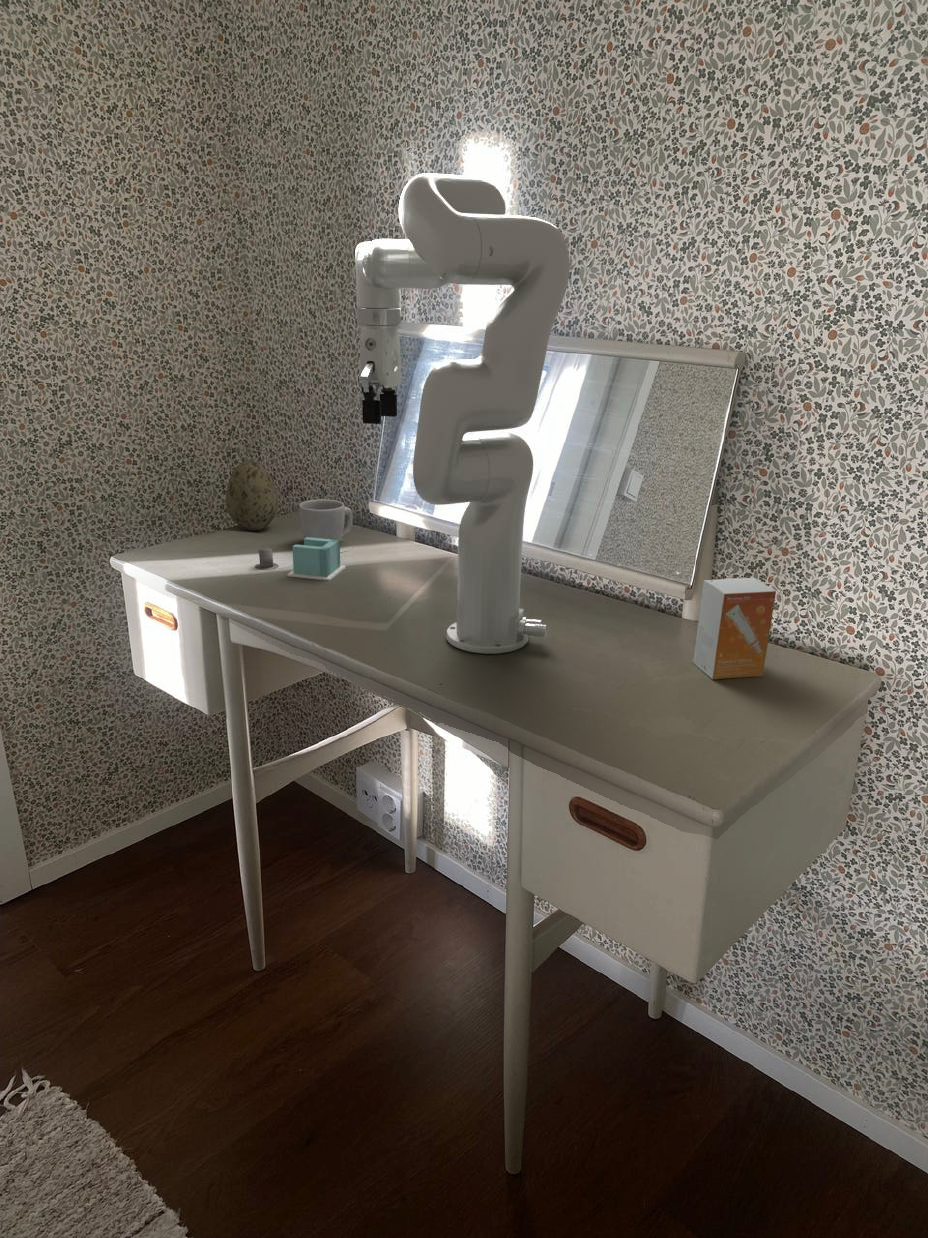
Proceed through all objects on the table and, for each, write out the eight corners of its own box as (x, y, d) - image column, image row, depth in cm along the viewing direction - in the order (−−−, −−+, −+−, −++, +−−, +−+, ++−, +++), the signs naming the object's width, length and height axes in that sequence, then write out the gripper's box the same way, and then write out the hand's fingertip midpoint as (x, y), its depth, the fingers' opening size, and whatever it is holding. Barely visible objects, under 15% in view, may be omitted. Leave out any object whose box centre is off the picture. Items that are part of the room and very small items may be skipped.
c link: (340, 566, 170) (339, 540, 168) (327, 576, 164) (326, 549, 163) (307, 563, 172) (306, 537, 170) (293, 573, 166) (292, 546, 164)
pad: (346, 568, 171) (346, 565, 171) (329, 581, 164) (329, 578, 163) (305, 564, 173) (305, 561, 172) (287, 577, 165) (287, 574, 165)
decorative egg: (219, 534, 195) (214, 463, 189) (239, 521, 205) (235, 454, 199) (268, 538, 193) (264, 466, 188) (286, 525, 203) (283, 456, 198)
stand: (355, 572, 173) (354, 548, 171) (330, 592, 162) (330, 566, 160) (256, 562, 177) (255, 538, 176) (226, 581, 167) (224, 555, 165)
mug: (320, 561, 179) (318, 512, 176) (291, 551, 185) (289, 504, 181) (366, 548, 188) (365, 502, 184) (337, 540, 193) (336, 494, 190)
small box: (712, 681, 131) (723, 593, 126) (692, 663, 136) (702, 579, 132) (764, 676, 132) (777, 590, 128) (742, 659, 138) (753, 576, 134)
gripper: (384, 321, 151) (386, 427, 157) (413, 317, 167) (413, 414, 173) (341, 320, 153) (344, 425, 159) (373, 317, 169) (375, 412, 175)
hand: (380, 419), depth 166 cm, fingers open, 9 cm apart
